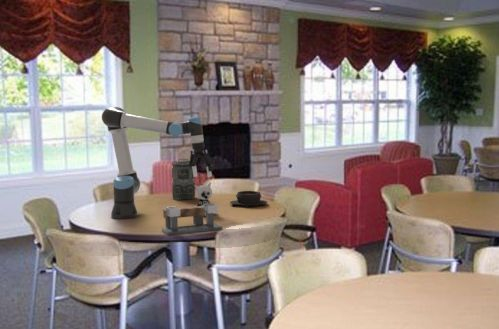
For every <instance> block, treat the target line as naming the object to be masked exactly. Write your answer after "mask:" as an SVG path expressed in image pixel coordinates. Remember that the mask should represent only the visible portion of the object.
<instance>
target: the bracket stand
mask: <svg viewBox="0 0 499 329" xmlns="http://www.w3.org/2000/svg"><path fill="white" fill-rule="evenodd" d="M180 208H181V207H177V205H174V206H166V207H165V209H166V215H168V216H169V217H170V228H168V227H163V228H161V232H162V233H164V234H165V235H166V236H172V235H174V236H175V235H182V234H183V235H186V234H194V233H202V232H203V233H204V232H213V231H221V229H222V230H223V226H222V225H220V224H218V223H216V222H215V221H214V220H215V218H214V216H215V214H218V213H219V210H218V204H216V203H214V202H212V203H211V202H210V203H208V204H203V211H204V212H206V216H205V217H206V218H205V219H206V222H205V223H203V224H200V225H195V224H191V225H190V224H189V225H181V226H179V225H178V218H177V216H180ZM214 213H215V214H214Z"/></svg>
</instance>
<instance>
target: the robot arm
mask: <svg viewBox="0 0 499 329" xmlns="http://www.w3.org/2000/svg"><path fill="white" fill-rule="evenodd" d="M101 121H102V123H103V124H104V125H105V126H107V132H109V133H110V134H111V137H112V143H113V148H114V154H115V158H116V163H117V170H118V173H117V176H116V177H114V179H113V184H112V185H113V186H112V187H113V206H112V210H111V213H110V214H111V215H110V218H112V219H118V220H122V219H123V220H124V219H126V220H127V219H133V218H137V217H138V215H139V214H138V209H137V207H136V205H135V194H136V193H138V191H139V189H140V187H141V181H140V178H139V177H138V174H137V171H136V170H135V169H134V166H133V162H132V161H133V160H132V155H131V150H130V147H129V141H128V140H129V139H128V135H127V129H128V128H129V129H130V128H131V129H134V130H135V129H136V130H141V131H146V132H152V133H156V134H157V133H159V134H162V135H169V136H171V137H179V136H181V135H182V136H183V135H189V134H190V140H191V147H192V150H190V156H189V157H190V158H189V160H188V161H189V165H190V166H191V167H192V171H193V177H195V178H197V177H198V169H197V165H196V164H197V161H198V159H199V158H200V159H202V160H203V161H204V163H205V165H206V173H207V178H211V177H212V176H213V173H212V166H213V165H214V162H213V160H212V158H211V155H210V154H209V149H205V142H204V141H205V139H204V132H203V125H202V120H201V117H200V116H193V117H188V120H187V121H180V122H179V121H178V122H172V121H169V120H168V121H167V120H166V121H165V120H161V119H156V118H150V117H146V116H145V117H144V116H140V115H134V114H129V113H127V112H126V111H125V109H123V108H121V107H118V106H114V107H107V108H106V109H104V110H103V111H102V114H101Z"/></svg>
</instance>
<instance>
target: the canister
mask: <svg viewBox="0 0 499 329" xmlns="http://www.w3.org/2000/svg"><path fill="white" fill-rule="evenodd" d="M180 160H181V161H180ZM189 161H190V160H189V159H188V158H179V159H178V161H177V160H176V161H173V162H172V163H171V165H172V168H171V178H172V184H171V186H172V188H171V189H172V192H171V194H172V198H173V199H174V200H178V201H183V200H194V199H195V198H196V188H195V186H194V185H196V184H195V178H196V177H193V171H192V167H191V166H190V165H189Z"/></svg>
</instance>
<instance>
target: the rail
mask: <svg viewBox="0 0 499 329" xmlns="http://www.w3.org/2000/svg"><path fill="white" fill-rule="evenodd" d="M196 206H197V205H196ZM179 208H180V216H177V219H180V218H188V217H189V218H193V216H203V215H205V212H204V211H203V206H197V207H195V206H188V207H187V206H186V207H179ZM162 210H163V211H162V212H163V214H162V216H163V219H170V217H169V216H168V215H166V208H163V209H162ZM203 217H204V216H203Z"/></svg>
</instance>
